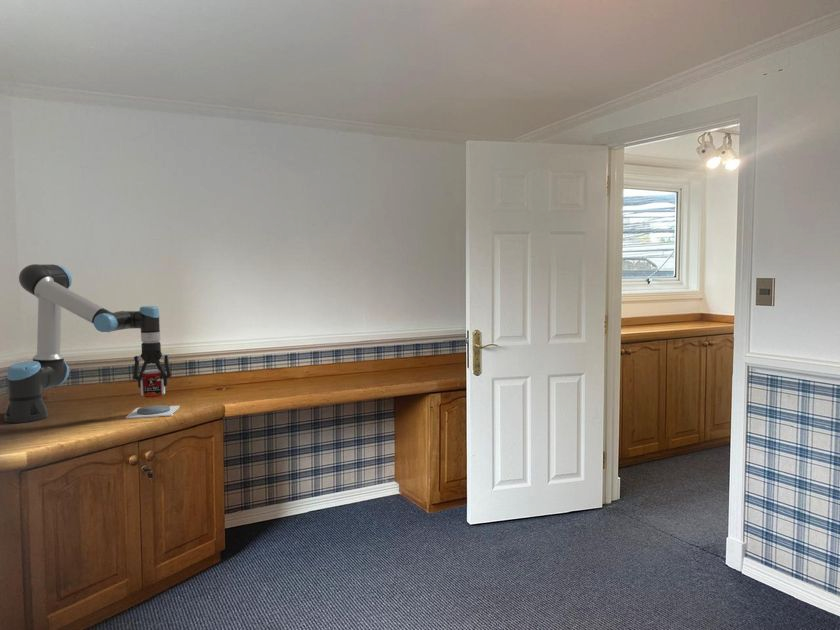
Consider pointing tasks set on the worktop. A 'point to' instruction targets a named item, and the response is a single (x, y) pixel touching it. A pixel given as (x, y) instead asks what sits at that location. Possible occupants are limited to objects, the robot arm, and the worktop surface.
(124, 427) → the worktop surface
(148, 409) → the white square plate
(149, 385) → the canned food
